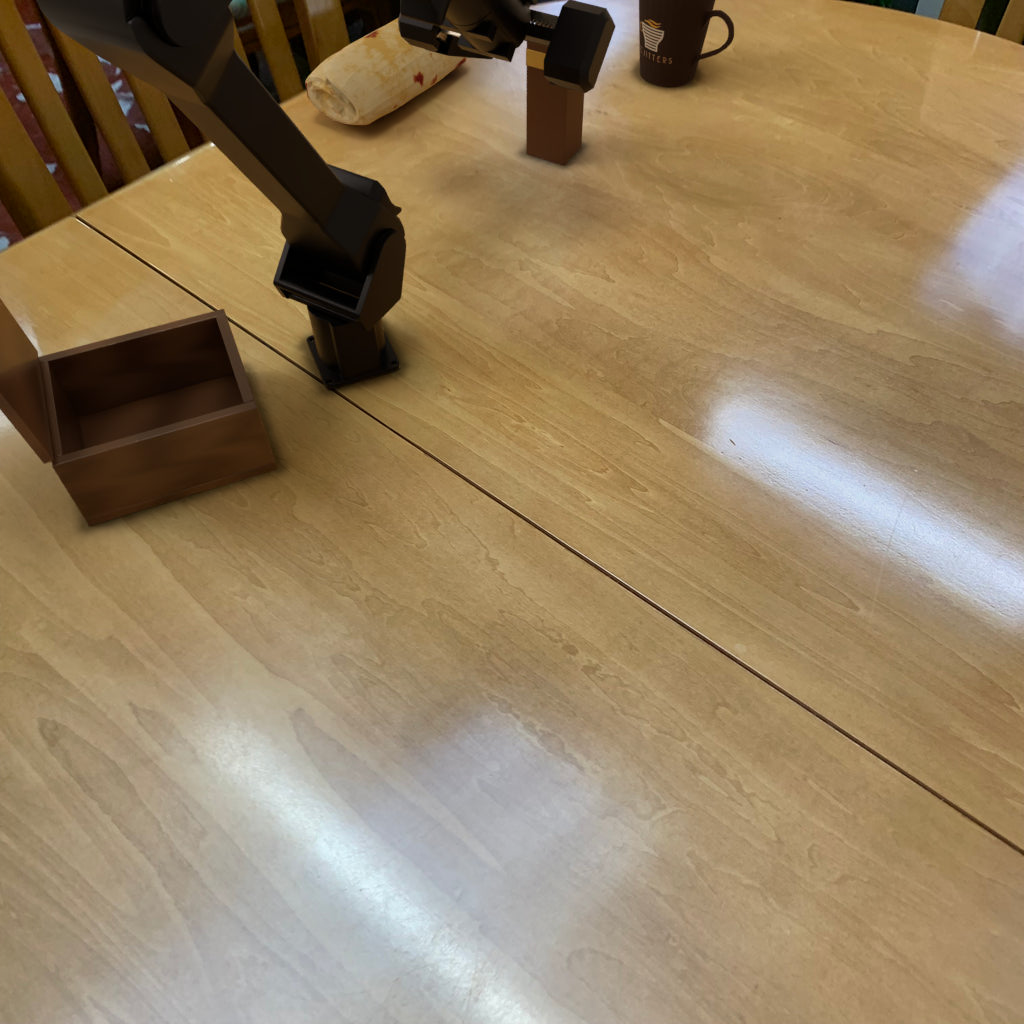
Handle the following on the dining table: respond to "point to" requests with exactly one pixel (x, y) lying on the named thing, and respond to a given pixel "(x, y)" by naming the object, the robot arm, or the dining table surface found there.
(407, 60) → the food model
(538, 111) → the chocolate box
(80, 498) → the chest
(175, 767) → the dining table surface
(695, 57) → the coffee mug
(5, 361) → the chest lid
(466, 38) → the robot arm
